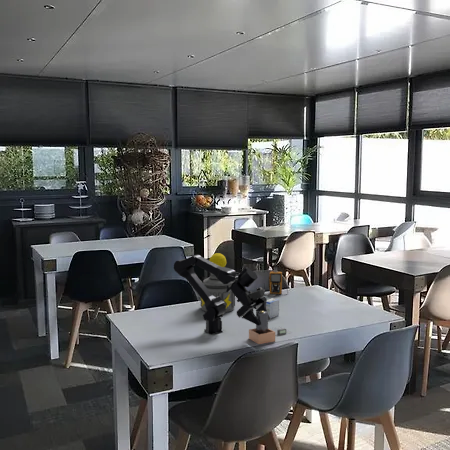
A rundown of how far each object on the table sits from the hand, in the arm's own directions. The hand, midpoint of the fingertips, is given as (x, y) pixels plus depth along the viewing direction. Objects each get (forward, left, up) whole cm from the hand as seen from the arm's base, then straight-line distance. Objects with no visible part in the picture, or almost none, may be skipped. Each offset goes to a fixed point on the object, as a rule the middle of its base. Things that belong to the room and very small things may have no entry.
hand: (264, 322), depth 210 cm
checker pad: (+11, +8, -8) cm, 16 cm away
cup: (-1, +1, -8) cm, 8 cm away
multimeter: (+49, +68, -9) cm, 84 cm away
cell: (-1, +1, -8) cm, 8 cm away
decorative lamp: (+5, +56, -9) cm, 57 cm away
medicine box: (+22, +30, -9) cm, 38 cm away
